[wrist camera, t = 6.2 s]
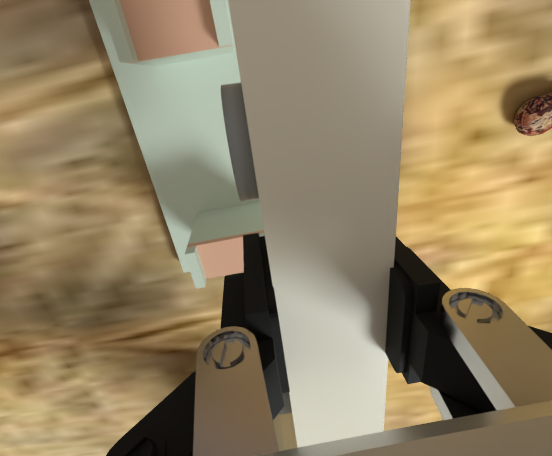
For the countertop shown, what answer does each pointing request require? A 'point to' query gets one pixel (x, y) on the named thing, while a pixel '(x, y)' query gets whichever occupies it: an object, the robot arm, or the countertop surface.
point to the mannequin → (535, 116)
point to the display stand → (183, 121)
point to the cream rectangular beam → (324, 191)
